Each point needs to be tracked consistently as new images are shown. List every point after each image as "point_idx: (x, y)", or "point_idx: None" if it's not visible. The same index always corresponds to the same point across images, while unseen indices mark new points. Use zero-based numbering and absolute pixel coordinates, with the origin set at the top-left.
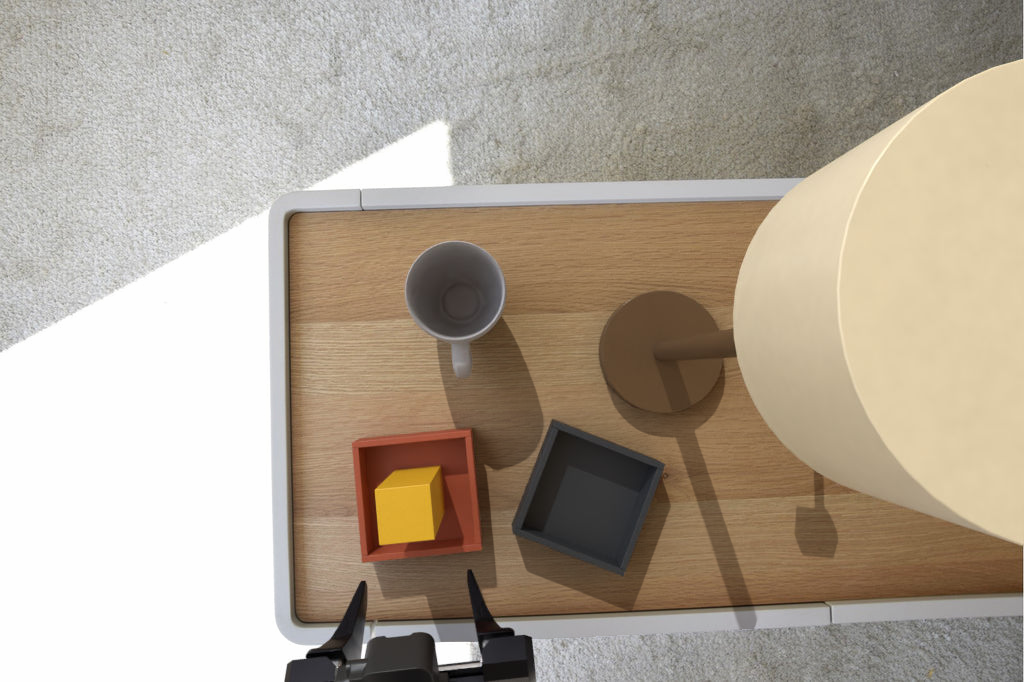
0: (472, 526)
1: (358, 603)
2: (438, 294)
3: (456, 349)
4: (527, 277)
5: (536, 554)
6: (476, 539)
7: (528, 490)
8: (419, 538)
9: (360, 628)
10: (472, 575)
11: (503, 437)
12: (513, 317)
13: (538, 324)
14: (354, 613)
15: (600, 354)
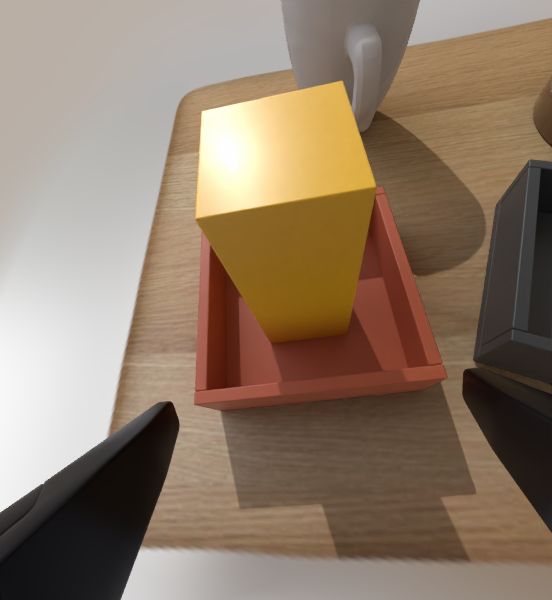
0: (400, 359)
1: (115, 448)
2: None
3: (357, 30)
4: (416, 87)
5: None
6: (429, 355)
7: (515, 263)
8: (323, 190)
9: (100, 560)
10: (497, 376)
11: (424, 234)
12: (407, 118)
13: (441, 119)
14: (77, 479)
15: (549, 118)
